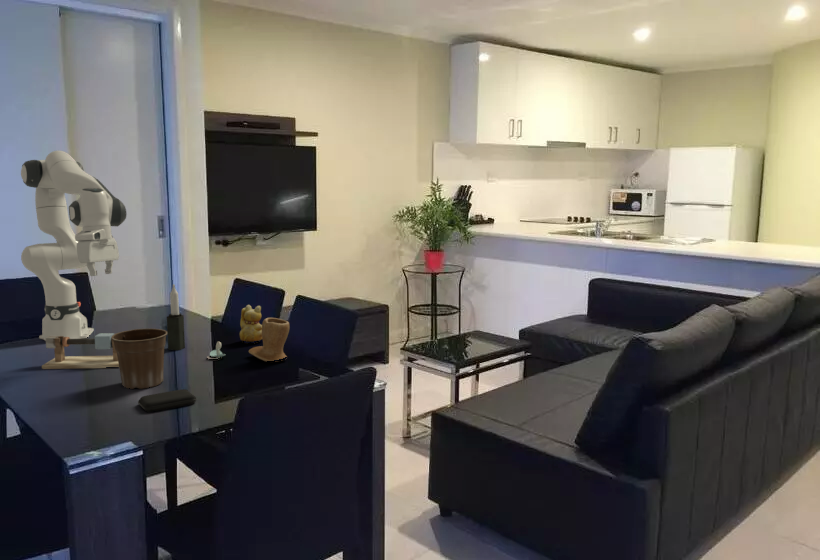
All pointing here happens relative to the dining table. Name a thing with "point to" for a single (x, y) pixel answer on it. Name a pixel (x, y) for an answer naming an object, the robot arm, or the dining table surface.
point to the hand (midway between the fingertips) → (101, 274)
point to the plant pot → (140, 357)
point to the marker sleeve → (103, 341)
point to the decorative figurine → (251, 324)
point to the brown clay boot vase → (272, 340)
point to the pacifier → (216, 352)
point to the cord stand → (76, 361)
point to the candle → (175, 324)
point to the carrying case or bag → (167, 400)
